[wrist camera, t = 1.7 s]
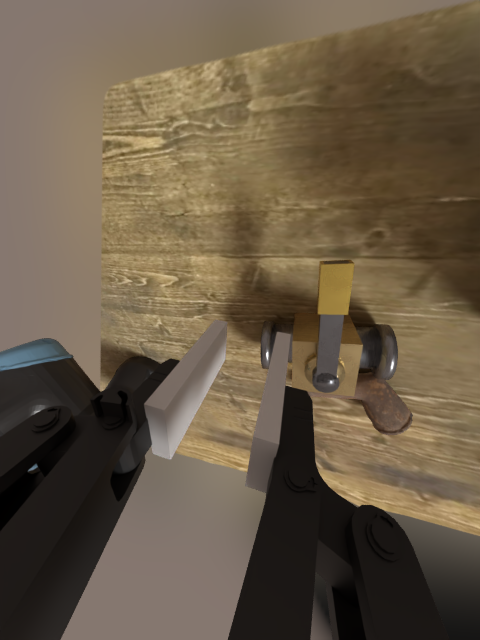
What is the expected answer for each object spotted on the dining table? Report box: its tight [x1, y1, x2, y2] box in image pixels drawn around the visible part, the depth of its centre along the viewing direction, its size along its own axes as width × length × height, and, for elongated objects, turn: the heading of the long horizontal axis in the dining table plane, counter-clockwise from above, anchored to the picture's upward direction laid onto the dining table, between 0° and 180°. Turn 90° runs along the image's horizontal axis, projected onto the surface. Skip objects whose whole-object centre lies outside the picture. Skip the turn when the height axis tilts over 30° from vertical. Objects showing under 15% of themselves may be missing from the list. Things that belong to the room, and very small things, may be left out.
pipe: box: [307, 372, 413, 435], centre depth 37 cm, size 6×17×10 cm
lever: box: [312, 260, 354, 393], centre depth 23 cm, size 16×3×2 cm, turn 6°
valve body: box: [261, 313, 398, 397], centre depth 31 cm, size 17×8×10 cm, turn 96°
